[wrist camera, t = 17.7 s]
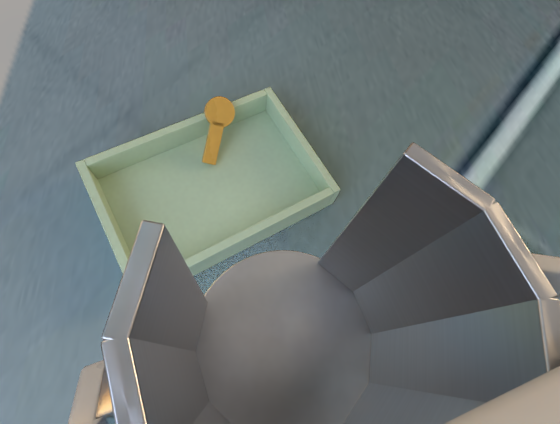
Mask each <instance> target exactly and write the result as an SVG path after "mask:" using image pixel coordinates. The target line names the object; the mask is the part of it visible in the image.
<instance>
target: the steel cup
mask: <svg viewBox="0 0 560 424" xmlns="http://www.w3.org/2000/svg"><path fill="white" fill-rule="evenodd" d="M556 297H557V293H556V292H555V290H554V289H553V287H552V285H551V284H550V282H549V281H548V279H547V278H546V276H545V274H544V273H543V271H542V270H541V268H540V267H539V265H538V263H537V262H536V260H535V259H534V257H533V256H532V254H531V252H530V251H529V249H528V248H527V246H526V245H525V243H524V241H523V240H522V238H521V237H520V235H519V234H518V232H517V231H516V229H515V227H514V226H513V224H512V223H511V221H510V220H509V218H508V216H507V215H506V213H505V212H504V210H503V209H502V207H501V205H500V204H499V203H498V202H495V198H493V197H492V196H490V195H489V194H488V193H486V192H485V191H483V190H482V189H480V188H479V187H478V186H476V185H475V184H473V183H472V182H470V181H469V180H467V179H466V178H465V177H463V176H462V175H460V174H459V173H457V172H456V171H455V170H453V169H452V168H450V167H449V166H447V165H446V164H445V163H443V162H442V161H440V160H439V159H437V158H436V157H434V156H433V155H432V154H430V153H429V152H427V151H426V150H424V149H423V148H422V147H420V146H419V145H417V144H416V143H414V142H413V143H411V144H410V145H409V147H408V148H407V149H406V150H405V152H404V153H403V154H402V155H401V157H400V158H399V159H398V160H397V162H396V163H395V164H394V166H393V167H392V168H391V169H390V171H389V172H388V173H387V175H386V176H385V177H384V178H383V180H382V181H381V182H380V183H379V185H378V186H377V187H376V189H375V190H374V191H373V192H372V194H371V195H370V196H369V198H368V199H367V200H366V201H365V203H364V204H363V205H362V206H361V208H360V209H359V210H358V212H357V213H356V214H355V215H354V217H353V218H352V219H351V220H350V222H349V223H348V224H347V226H346V227H345V228H344V229H343V231H342V232H341V233H340V235H339V236H338V237H337V238H336V240H335V241H334V242H333V243H332V245H331V246H330V247H329V249H328V250H327V251H326V252H325V254H324V255H323V256H322V257H321V258H318V257H316V256H313V255H310V254H306V253H303V252H298V251H290V250H276V251H268V252H263V253H260V254H256V255H253V256H250V257H248V258H246V259H243V260H242V261H240V262H238V263H236V264H234V265H233V266H232V267H230V268H229V269H228V270H226V271H225V272H224V273H223V274H222V275H221V276H219V277H218V278H217V279H216V280H215V282H214V283H213V284H212V285H211V286H210V288H209V289H208V290H207V292H206V293H205V295H203V293H202V291H201V289H200V287H199V286H198V284H197V282H196V280H195V278H194V277H193V275H192V273H191V271H190V269H189V267H188V266H187V264H186V262H185V260H184V258H183V257H182V255H181V253H180V251H179V249H178V248H177V246H176V244H175V242H174V240H173V239H172V237H171V235H170V233H169V231H168V229H167V228H166V226H165V224H163V223H158V222H152V221H147V220H142V222H141V224H140V227H139V230H138V233H137V236H136V238H135V241H134V244H133V247H132V250H131V253H130V256H129V259H128V262H127V264H126V267H125V270H124V273H123V276H122V279H121V282H120V285H119V287H118V290H117V293H116V296H115V299H114V302H113V305H112V308H111V311H110V313H109V316H108V319H107V322H106V325H105V328H104V331H103V334H102V339H103V340H104V341H102V342H101V349H102V354H103V360H104V365H105V370H106V376H107V381H108V387H109V392H110V397H111V403H112V408H113V414H114V419H115V424H444V423H446V422H448V421H450V420H452V419H454V418H456V417H458V416H460V415H462V414H464V413H466V412H468V411H470V410H472V409H474V408H476V407H478V406H480V405H482V404H484V403H486V402H488V401H490V400H492V399H494V398H496V397H498V396H500V395H502V394H504V393H506V392H508V391H510V390H512V389H514V388H516V387H518V386H520V385H522V384H524V383H526V382H528V381H530V380H532V379H534V378H536V377H538V376H540V375H542V374H544V373H546V372H548V371H550V370H552V369H554V368H556V367H559V366H560V301H559V299H557V298H556Z"/></svg>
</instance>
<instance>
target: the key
mask: <svg viewBox="0 0 560 424" xmlns="http://www.w3.org/2000/svg"><path fill="white" fill-rule="evenodd" d="M204 113H205V117H206V119H207V121H208V122H209V123H210V125H209V130H208V134H207V139H206V144H205V148H204V153H203V157H202V162H203V163H207V164H212V165H216V161H217V156H218V152H219V147H220V143H221V138H222V134H223V129H224V127H226V126H228V125H229V124H231V122H232V121H233V119H234V116H235V109H234V106H233V104H232V103H231V102H230V101H229V100H228V99H227V98H225V97H221V96H218V97H214V98H212V99H210V100H209V101H208V102H207V104H206V106H205V110H204Z"/></svg>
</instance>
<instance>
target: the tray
mask: <svg viewBox="0 0 560 424" xmlns="http://www.w3.org/2000/svg"><path fill="white" fill-rule="evenodd" d="M231 103H232V104H233V106H234V109H235V116H234V119H233V121H232V122H231V124H229V125H228V126H226V127H224V129H223V134H222V138H221V143H220V147H219V152H218V156H217V161H216V165H212V164H207V163H203V162H202V157H203V153H204V148H205V144H206V139H207V134H208V130H209V125H210V123H209V122H208V121H207V119H206V117H205V113H202V114H199V115H196V116H194V117H191V118H189V119H186V120H184V121H181V122H178V123H176V124H173V125H171V126H168V127H166V128H163V129H160V130H158V131H155V132H153V133H150V134H148V135H145V136H142V137H140V138H137V139H135V140H132V141H130V142H127V143H124V144H122V145H119V146H117V147H114V148H112V149H109V150H106V151H104V152H101V153H99V154H96V155H94V156H91V157H88V158H86V159H84V160H81V161H78V162H76V163H75V164H76V166H77V169H78V171H79V173H80V176H81V178H82V180H83V183H84V185H85V187H86V190H87V192H88V194H89V196H90V199H91V201H92V203H93V206H94V208H95V210H96V213H97V215H98V217H99V220H100V222H101V224H102V227H103V229H104V231H105V234H106V236H107V238H108V241H109V243H110V245H111V247H112V250H113V252H114V254H115V257H116V259H117V261H118V264H119V266H120V268H121V271H122V273H124V270H125V267H126V264H127V262H128V259H129V256H130V253H131V250H132V247H133V244H134V241H135V238H136V236H137V233H138V230H139V227H140V224H141V222H142V220H147V221H152V222H158V223H163V224H165V226H166V228H167V229H168V231H169V233H170V235H171V237H172V239H173V240H174V242H175V244H176V246H177V248H178V249H179V251H180V253H181V255H182V257H183V258H184V260H185V262H186V264H187V266H188V267H189V269H190V271H191V273H192V275H193V276H195V275H196V274H198V273H200V272H202V271H204V270H206V269H208V268H210V267H212V266H214V265H216V264H218V263H220V262H222V261H223V260H225V259H227V258H229V257H231V256H233V255H235V254H237V253H239V252H241V251H243V250H245V249H247V248H248V247H250V246H252V245H254V244H256V243H258V242H260V241H262V240H264V239H266V238H268V237H270V236H272V235H273V234H275V233H277V232H279V231H281V230H283V229H285V228H287V227H289V226H291V225H293V224H295V223H297V222H298V221H300V220H302V219H304V218H306V217H308V216H310V215H312V214H314V213H316V212H318V211H320V210H322V209H324V208H325V207H327V206H329V205H331V204H333V202H334V200H335V199H336V197H337V195H338V193H339V192H340V188H339V187H338V185H337V184H336V182H335V181H334V179H333V178H332V176H331V175H330V173H329V172H328V171H327V169H326V168H325V166H324V165H323V163H322V162H321V160H320V159H319V157H318V156H317V155H316V153H315V152H314V150H313V149H312V147H311V146H310V144H309V143H308V141H307V140H306V138H305V137H304V136H303V134H302V133H301V131H300V130H299V128H298V127H297V125H296V124H295V122H294V121H293V119H292V118H291V117H290V115H289V114H288V112H287V111H286V109H285V108H284V106H283V105H282V103H281V102H280V101H279V99H278V98H277V96H276V95H275V93H274V92H273V90H272V89H271V87H268V88H266V89H264V90H261V91H258V92H256V93H253V94H250V95H248V96H245V97H243V98H240V99H238V100H235V101H232V102H231Z"/></svg>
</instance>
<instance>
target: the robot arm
mask: <svg viewBox="0 0 560 424" xmlns="http://www.w3.org/2000/svg"><path fill="white" fill-rule="evenodd" d="M531 254H532V253H531ZM532 256H533V257H534V259H535V260H536V262H537V263H538V265H539V267H540V268H541V270H542V271H543V273H544V274H545V276H546V278H547V279H548V281H549V282H550V284H551V285H552V287H553V289H554V290H555V292H556V293H557V297H556V298H557V299H559V301H560V258H559V257H553V256H546V255H539V254H532ZM68 424H115V419H114V414H113V408H112V403H111V397H110V392H109V387H108V381H107V376H106V370H105V365H104V360H102V361H99V362H96V363H93V364H91V365H88V366H85V367H84V368H83V370H82V371H81V373H80V377H79V381H78V385H77V389H76V393H75V397H74V401H73V405H72V409H71V413H70V417H69V421H68ZM444 424H560V366H559V367H556V368H554V369H552V370H550V371H548V372H546V373H544V374H542V375H540V376H538V377H536V378H534V379H532V380H530V381H528V382H526V383H524V384H522V385H520V386H518V387H516V388H514V389H512V390H510V391H508V392H506V393H504V394H502V395H500V396H498V397H496V398H494V399H492V400H490V401H488V402H486V403H484V404H482V405H480V406H478V407H476V408H474V409H472V410H470V411H468V412H466V413H464V414H462V415H460V416H458V417H456V418H454V419H452V420H450V421H448V422H446V423H444Z"/></svg>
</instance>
